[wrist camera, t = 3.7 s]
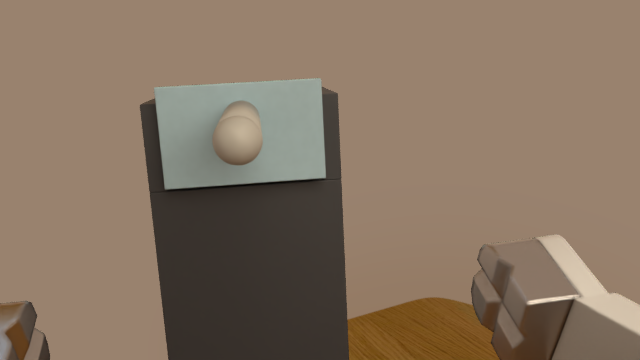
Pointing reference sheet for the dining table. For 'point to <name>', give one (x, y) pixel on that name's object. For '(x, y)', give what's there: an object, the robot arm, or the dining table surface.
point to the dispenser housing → (252, 260)
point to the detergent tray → (276, 125)
